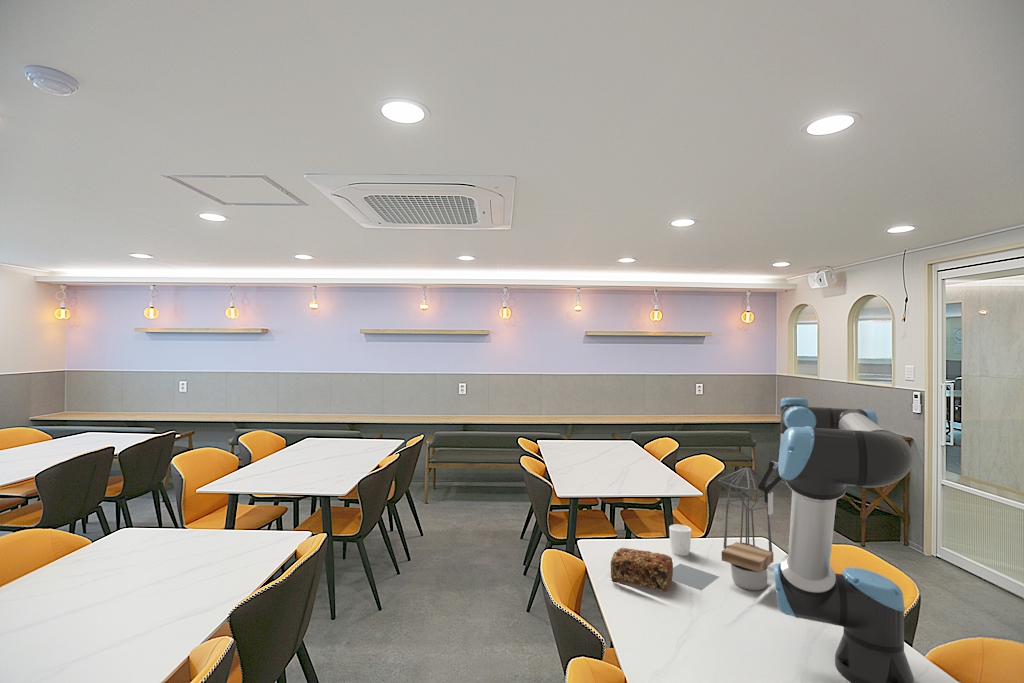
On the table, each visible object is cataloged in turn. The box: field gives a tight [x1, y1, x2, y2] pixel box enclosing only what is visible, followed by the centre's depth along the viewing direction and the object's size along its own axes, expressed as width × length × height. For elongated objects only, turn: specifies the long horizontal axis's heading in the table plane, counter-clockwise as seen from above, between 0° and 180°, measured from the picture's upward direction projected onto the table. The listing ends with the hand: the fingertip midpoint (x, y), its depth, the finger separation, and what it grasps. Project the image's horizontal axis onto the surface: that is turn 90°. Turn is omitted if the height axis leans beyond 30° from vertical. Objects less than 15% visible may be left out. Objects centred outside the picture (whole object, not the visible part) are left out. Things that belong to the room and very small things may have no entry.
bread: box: [610, 547, 674, 592], centre depth 163 cm, size 19×11×10 cm, turn 60°
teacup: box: [730, 563, 768, 591], centre depth 162 cm, size 14×11×8 cm
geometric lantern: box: [718, 466, 780, 552], centre depth 178 cm, size 16×16×35 cm
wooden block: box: [721, 541, 774, 572], centre depth 162 cm, size 12×12×3 cm
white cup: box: [668, 523, 692, 557], centre depth 186 cm, size 8×8×10 cm
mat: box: [672, 563, 720, 591], centre depth 165 cm, size 14×14×1 cm
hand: (794, 518), depth 149 cm, fingers open, 13 cm apart
